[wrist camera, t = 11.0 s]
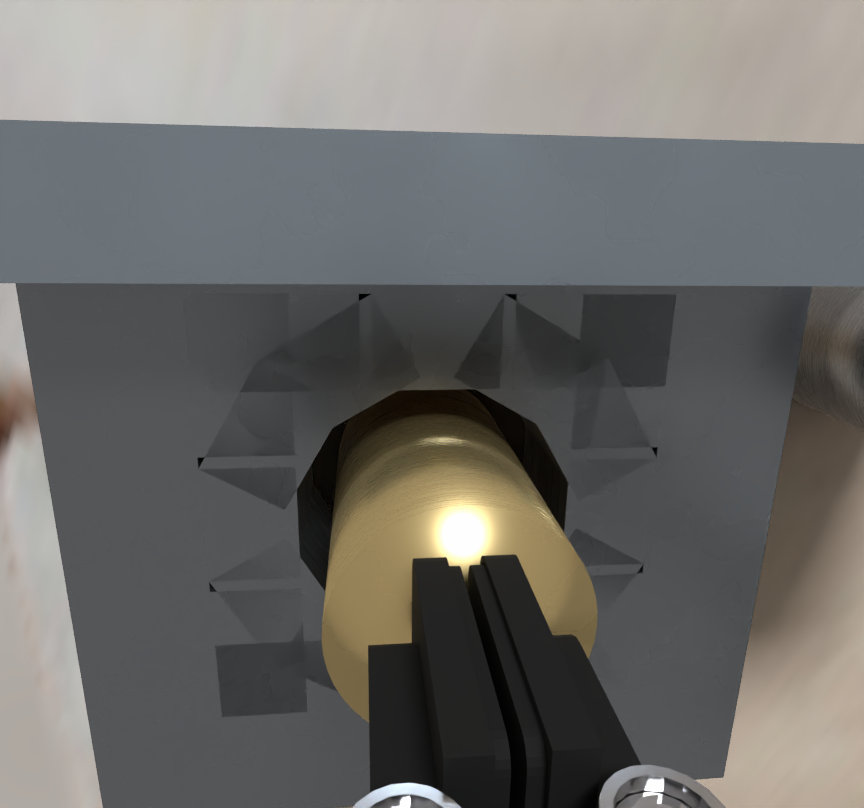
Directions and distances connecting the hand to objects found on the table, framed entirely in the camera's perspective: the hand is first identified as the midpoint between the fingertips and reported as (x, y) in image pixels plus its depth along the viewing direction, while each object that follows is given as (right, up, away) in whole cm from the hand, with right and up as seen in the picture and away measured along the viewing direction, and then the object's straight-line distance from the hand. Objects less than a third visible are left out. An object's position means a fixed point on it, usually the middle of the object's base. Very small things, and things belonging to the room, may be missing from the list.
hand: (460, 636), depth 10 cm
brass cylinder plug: (-1, +2, +8) cm, 8 cm away
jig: (-1, +2, +8) cm, 8 cm away
